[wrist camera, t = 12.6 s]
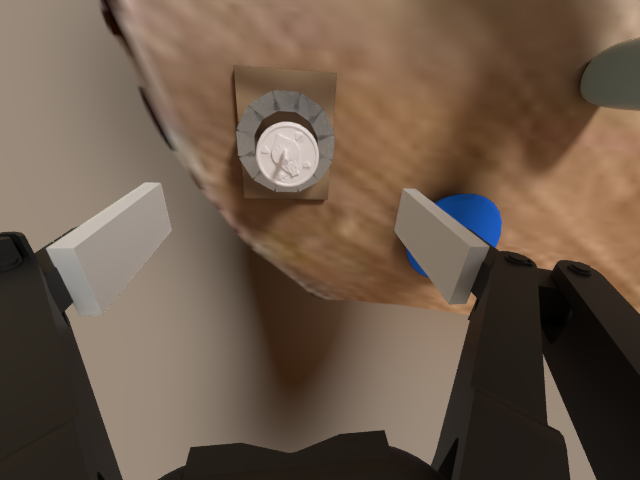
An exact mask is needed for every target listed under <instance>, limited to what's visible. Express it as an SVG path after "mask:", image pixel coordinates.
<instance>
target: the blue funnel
mask: <svg viewBox="0 0 640 480" xmlns="http://www.w3.org/2000/svg"><path fill="white" fill-rule="evenodd" d="M434 204H436V205H437V206H438V207H440V208H441V209H442V210H443V211H445V212H446V213H447V214H449V215H450V216H451V217H452V218H454V219H455V220H456V221H458V222H459V223H460V224H461V225H463V226H465V227H467V228H469V229H471V230H472V231H474V232H475V233H476V234H477V235H478V236H480V237H481V238H483V239H484V240H485V241H487V242H488V243H489V244H491V245H492V246H493V247H494V248H495V247H496V245H497V243H498V240H499V238H500V234H501V224H502V221H501V216H500V212H499V210H498V209H497V207H496V206H495V204H494V203H493V202H491V201H490V200H488V199H487V198H486V197H483V196H479V195H476V194H455V195H451V196H448V197H444V198H442V199H440V200H438V201H436V202H434ZM407 256H408V260H409V262H410V264H411V266H412V267H413V268H414V269H415V270H416V271H417V272H418V273H419V274H421V275H423V276H425V277H428V276H427V274H426V273H425V272H424V270H423V269H422V268H421V266H420V265H419V264H418V263H417V261H416V260H415V259H414V257H413V256H412V255H411V253H410V252H409V251H408V249H407ZM428 278H429V277H428Z"/></svg>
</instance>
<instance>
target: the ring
mask: <svg viewBox="0 0 640 480" xmlns="http://www.w3.org/2000/svg"><path fill="white" fill-rule="evenodd" d="M276 111H289V112H296V113H298V114H299V115H301V116H302V117H304V118H305V119H306V120H308V121H309V122H310V124H311V126H312V128H313V130H314V132H315V141H316V143H317V146H318V151H319V161H318V166H317V168H316V171H315V172H314V174H313V175H312V177H311V178H310V179H309V180H307V181H306V182H305V183H303V184H301V185H298V186H295V187H282V186H279V185H276V184H274V183H272V182H271V181H269V180H268V179H267V178H266V177H265V176H264V175H263V174H262V172H261V171H260V169H259V167H258V164H257V160H256V149H257V143H258V142H257V130H258V128H259V127H260V125H261V123H262V121H263V119H264V118H266V117H268V116H270V115H271V114H273V113H275V112H276ZM237 129H238V130H237V131H236V136H237V147H238V156H240V158H239V159H240V161H241V162H242V164H243V165H244V167H245V168H246V170H247V171H248V173H249V174H250V176H251V177H252V178H254V177H255V178H254V180H255V181H256V182H258V183H260V184H262V185H264V186H265V187H267V188H269V189H271V190H273V191H274V190H275V188H276V192H297V189H298V190H299V192H300V191H302V190H304V189H305V188H307V187H309V186H311V185H313V184H315V183H317V182H318V179H319V180H321V178H322V176H323V175H324V173H325V172H326V170H327V169H328V167H329V166H330V164H331V163H332V160H331V159H333V153H334V140H335V135H334V131H333V129H332V127H331V124H330V122H329V120H328V118H327V115H326V113H325V111H324V110H323V109H322V107H320V106H319V105H317V104H316V103H315V102H313V101H312V100H311V99H309V98H308V97H306V96H305V95H304V94H302V93H300V94H299V92H293V91H278V90H274V93H273V91H270V92H269V93H267V94H265V95H264V96H262V97H260V98H259V99H257V100H255V101H253V102H252V103H250V105H248V106H247V108H246V110H245V112H244V114H243V116H242V118H241V121H240V123H239V125H238V127H237Z"/></svg>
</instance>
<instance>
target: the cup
mask: <svg viewBox="0 0 640 480" xmlns="http://www.w3.org/2000/svg"><path fill="white" fill-rule="evenodd" d="M580 92H581V95H582V97H583V98H584V99H585V100H586V101H588V102H589V103H591V104H594V105H597V106H601V107H605V108H612V109H620V110H633V111H640V37H638V38H634V39H630V40H627V41H624V42H621V43H618V44H615V45H613V46H611V47H609V48H607V49H605V50H604V51H602V52H601V53H599V54H598V55H597V56H596V57H595V58H594V59H593V60H592V61H591V62H590V63H589V65H588V66H587V67H586V69H585V71H584V73H583V76H582V79H581V83H580Z"/></svg>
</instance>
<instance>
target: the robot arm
mask: <svg viewBox="0 0 640 480" xmlns="http://www.w3.org/2000/svg"><path fill="white" fill-rule="evenodd" d="M171 231H172V230H171V225H170V221H169V216H168V212H167V208H166V203H165V199H164V194H163V190H162V186H161V183H144V184H142V185H141V186H139V187H138V188H136V189H135V190H133V191H132V192H130V193H129V194H127V195H126V196H125V197H123V198H121V199H120V200H118V201H117V202H115V203H114V204H112V205H111V206H109V207H107V208H106V209H104V210H103V211H101V212H100V213H98V214H97V215H95V216H94V217H93V218H91V219H89V220H88V221H86V222H85V223H83V224H82V225H80V226H78V227H75V228H73V229H71V230H70V231H68V232H67V233H65V234H64V235H62V237H59V238H57V239H56V240H54V242H51V243H50V244H48V245H46V246H45V247H43V248H42V249H40V250H39V251H37V252H36V253H34V252H33V250H32V248H31V247H30V245H29V243H28V241H27V239H26V237H25V235H24V234H22V233H19V232H2V233H0V480H123V479H122V476H121V474H120V471H119V468H118V465H117V461H116V458H115V455H114V452H113V449H112V447H111V444H110V441H109V438H108V435H107V432H106V429H105V426H104V423H103V420H102V417H101V414H100V411H99V408H98V405H97V402H96V399H95V396H94V393H93V390H92V387H91V384H90V381H89V379H88V375H87V372H86V369H85V366H84V363H83V361H82V357H81V354H80V352H79V349H78V346H77V343H76V340H75V337H74V334H73V331H72V328H71V325H70V322H69V319H68V317H67V315H66V313H65V310H66V309H67V308H68V307H69V306H70V305H71V304H72V303H73V304H74V306H75V308H76V310H77V312H78V314H79V316H91V315H103V314H104V313H105V312H106V311H107V309H108V308H109V307H110V306H111V305H112V303H113V302H114V301H115V300H116V298H117V297H118V296H119V295H120V293H121V292H122V291H123V290H124V288H125V287H126V286H127V285H128V283H129V282H130V281H131V280H132V279H133V277H134V276H135V275H136V274H137V272H138V271H139V270H140V269H141V268H142V266H143V265H144V264H145V263H146V261H147V260H148V259H149V258H150V257H151V255H152V254H153V253H154V252H155V250H156V249H157V248H158V247H159V245H160V244H161V243H162V242H163V241H164V239H165V238H166V237H167V236H168V234H169V233H170V232H171ZM394 232H395V233H396V235H397V236H398V237H399V239H400V240H401V241H402V243H403V244H404V245H405V247H406V248H407V249H408V251H409V252H410V253H411V255H412V256H413V257H414V259H415V260H416V261H417V263H418V264H419V265H420V266H421V268H422V269H423V270H424V272H425V273H426V274H427V276H428V277H429V278H430V280H431V281H432V282H433V284H434V285H435V286H436V288H437V289H438V290H439V292H440V293H441V294H442V296H443V297H444V298H445V300H446V301H447V302H448V304H466V303H467V300H468V298H469V296H470V293H471V292H472V293H473V294H474V295H475V296H476V298H477V299H476V302H475V304H474V306H473V309H472V311H471V313H470V316H469V318H468V320H470V323H469V327H468V330H467V334H466V338H465V342H464V345H463V349H462V353H461V357H460V361H459V365H458V369H457V373H456V376H455V380H454V384H453V388H452V392H451V396H450V400H449V403H448V407H447V411H446V415H445V419H444V423H443V426H442V430H441V434H440V438H439V442H438V446H437V450H436V453H435V456H434V459H433V462H432V464H431V466H430V465H429V464H427V463H425V462H424V461H422V460H421V459H419V458H418V457H416V456H414V455H412V454H410V453H408V452H406V451H403V450H401V449H398V448H395V447H391V446H389V445H388V441H387V438H386V434H385V431H384V430H382V431H370V432H358V433H347V434H339V435H337V436H334V437H332V438H329V439H327V440H324V441H322V442H319V443H317V444H314V445H312V446H310V447H307V448H305V449H302V450H300V451H297V452H294V453H286V452H281V451H277V450H272V449H268V448H263V447H258V446H254V445H249V444H244V443H233V444H222V445H211V446H200V447H191V448H190V451H189V455H188V459H187V462H186V465H185V466H182V467H180V468H178V469H176V470H174V471H172V472H170V473H168V474H166V475H164V476H163V477H161V478H160V479H158V480H570V473H569V465H568V457H567V448H566V444H565V440H564V437H563V435H562V434H561V433H560V431H558V430H556V429H554V428H552V427H550V426H548V423H547V412H546V397H545V383H544V382H545V381H544V367H543V355H544V357H545V360H546V362H547V364H548V367H549V369H550V371H551V374H552V376H553V378H554V381H555V383H556V385H557V388H558V390H559V392H560V395H561V397H562V400H563V402H564V404H565V407H566V409H567V411H568V414H569V416H570V418H571V421H572V423H573V425H574V427H575V430H576V432H577V435H578V437H579V439H580V442H581V444H582V446H583V449H584V451H585V453H586V456H587V458H588V461H589V463H590V465H591V467H592V470H593V472H594V475H595V476H596V479H597V480H640V314H639V313H638V312H637V311H636V310H635V309H634V308H633V307H632V306H631V305H630V304H629V303H628V302H627V301H626V299H625V298H624V297H623V296H622V295H621V294H620V293H619V292H618V291H617V290H616V289H615V288H614V287H613V286H612V285H611V284H610V283H609V282H608V281H607V279H606V278H605V277H604V276H603V275H602V274H600V273H599V272H598V271H597V270H595V269H593V268H591V267H590V266H589V265H586V264H584V263H581V262H574V261H568V260H560V261H558V262H557V264H556V265H555V267H554V269H553V271H552V270H546V269H540V268H537V266H536V264H535V262H533V261H532V260H531V259H529V258H527V257H525V256H523V255H521V254H518V253H514V252H509V251H501V252H500V251H498V250H497V249H496V248H494V247H493V246H492V245H491V244H489V243H488V242H487V241H485V240H484V239H483V238H481V237H480V236H478V235H477V234H476V233H475V232H474V231H472V230H471V229H469V228H467V227H465V226H463V225H461V224H460V223H459V222H458V221H456V220H455V219H454V218H452V217H451V216H450V215H449V214H447V213H446V212H445V211H443V210H442V209H441V208H440V207H438V206H437V205H436V204H434V203H433V202H432V201H431V200H429V199H428V198H427V197H425V196H424V195H423V194H422V193H420V192H419V191H418V190H416V189H403V191H402V195H401V200H400V205H399V210H398V214H397V219H396V224H395V229H394Z"/></svg>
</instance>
